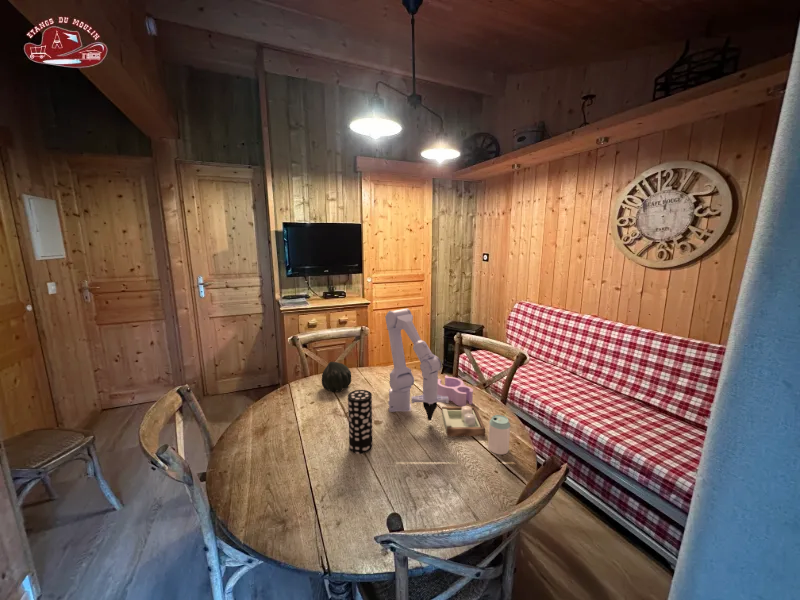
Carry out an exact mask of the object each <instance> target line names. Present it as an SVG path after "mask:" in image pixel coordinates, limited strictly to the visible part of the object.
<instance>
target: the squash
mask: <svg viewBox="0 0 800 600" xmlns="http://www.w3.org/2000/svg"><path fill="white" fill-rule="evenodd" d="M351 383H352V372H351V370H350V368H349V367H348V366H347V365H346V364H344V363H340V362H337V361H329V362H328V364H327V365H326V367H325V368H324V370H323V371H322V374H321V385H322V387H323V389H325V390H327V391H329V392H331V393H336V392H337V393H341V392H342V391H343V390H346V389H348V387H349V386H350V385H351Z"/></svg>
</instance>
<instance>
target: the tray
mask: <svg viewBox="0 0 800 600" xmlns="http://www.w3.org/2000/svg"><path fill="white" fill-rule="evenodd" d="M461 411H462V410H447V409H442V408H441V417H442V420H443V425H444V428H445V433H446V434H447V427H480V425H479V422H478V420H477V418H476V415H475V413H474V411H473V410H472V414H473V415H475V426H464V422H463V421H462V420H461Z"/></svg>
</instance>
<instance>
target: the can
mask: <svg viewBox="0 0 800 600" xmlns="http://www.w3.org/2000/svg"><path fill="white" fill-rule="evenodd" d="M510 432H511V423H510V421H509V419H508V417H507V416H505V415H502V414H495V415H493V416H491V419H490V420H489V424H488V440H487V441H488V442H487V443H488V444H487V449H488V450H489V451H490V452H492V453H493V454H495V455H505V454H508V453H509V448H510V436H511V433H510Z"/></svg>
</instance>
